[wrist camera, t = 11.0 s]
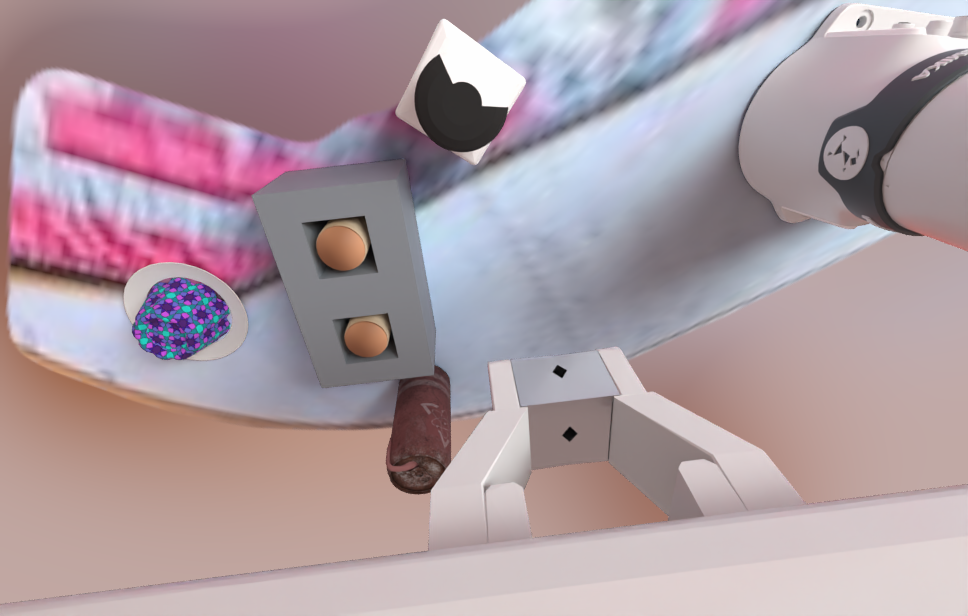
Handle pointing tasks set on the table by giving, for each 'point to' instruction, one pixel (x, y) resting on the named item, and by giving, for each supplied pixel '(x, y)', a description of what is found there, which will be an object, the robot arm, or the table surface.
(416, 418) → the can
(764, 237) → the table surface
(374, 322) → the peg
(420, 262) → the block
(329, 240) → the peg
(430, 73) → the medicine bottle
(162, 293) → the pudding
